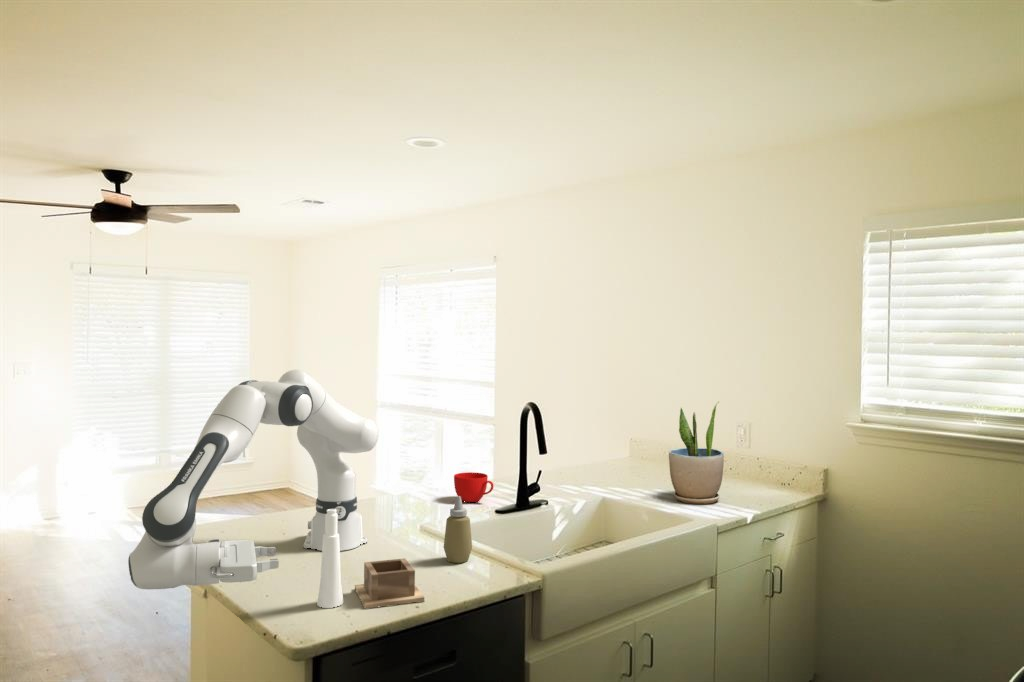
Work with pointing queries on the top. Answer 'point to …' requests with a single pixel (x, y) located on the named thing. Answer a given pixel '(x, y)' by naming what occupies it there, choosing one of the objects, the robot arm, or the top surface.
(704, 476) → the potted plant
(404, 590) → the holder
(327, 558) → the cosmetic bottle
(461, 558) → the squeeze bottle
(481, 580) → the top surface
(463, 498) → the ceramic cup
